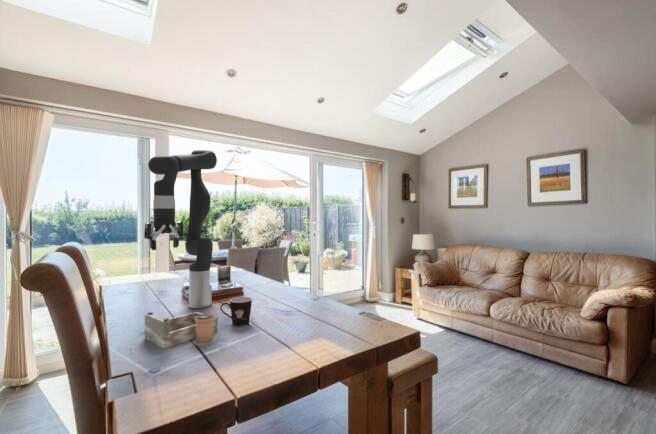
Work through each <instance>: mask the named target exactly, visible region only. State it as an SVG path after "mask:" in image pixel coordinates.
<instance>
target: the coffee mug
mask: <svg viewBox="0 0 656 434" xmlns="http://www.w3.org/2000/svg"><path fill="white" fill-rule="evenodd" d="M252 304H253V298H252V297H250V296H236V297H232V298H231V299H230V300H229V303H228V302H224V303H222V304H221V305H220V311H221V312H222V313H223V314H224V315H225V316H226V317H228V318H230V319H231V323H232V325H233V326H235V327H241V326H242V327H243V326H249V325H250V318H251V312H252ZM224 305H227V306H228V307H229V308H230V314H229V313H226V312H225V311H224V310H223V309H222V308H223V306H224Z"/></svg>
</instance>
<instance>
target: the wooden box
mask: <svg viewBox="0 0 656 434" xmlns="http://www.w3.org/2000/svg"><path fill="white" fill-rule="evenodd" d="M202 314H203V313H201V312H199V311H193V312H191V313H187V314H186V313H185V314H183V315H179V316H175V317H171V318H169V317H165V318H163V317H161V316H160V315H156V314H155V313H154V312H152V311H148V312H147V313H146V314H144V340H147V341H148V342H150V343H152V344H154V345H156V346H158V347H160V348H163V349H165V348H167V349H168V348H170V347H173V346H176V345H179V344H182V343H185V342H187V341H190V340H191V341H192V340H194V339H195V338H196V322H195V317H196V316H199V315H202ZM218 322H219V320H218V318H216V317H214V321H213V333H214V332H217V331H218Z"/></svg>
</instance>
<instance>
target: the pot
mask: <svg viewBox="0 0 656 434" xmlns="http://www.w3.org/2000/svg"><path fill="white" fill-rule="evenodd" d="M214 318H215V314H212V313H211V314H210V313H202V315H199V316H196V317H195V322H196V342H197V343H208V342H211V341H212V340H213V335H214V332H213V321H214Z"/></svg>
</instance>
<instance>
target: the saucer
mask: <svg viewBox="0 0 656 434" xmlns="http://www.w3.org/2000/svg"><path fill="white" fill-rule="evenodd" d="M219 339H220V338H219V336H218V335H215V334H213V340H212V341H211V342H208V343H197V342H196V338H194V339H192V344H193V345H194V346H210V345H213V344H216V343H217V342H218V341H219Z"/></svg>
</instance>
